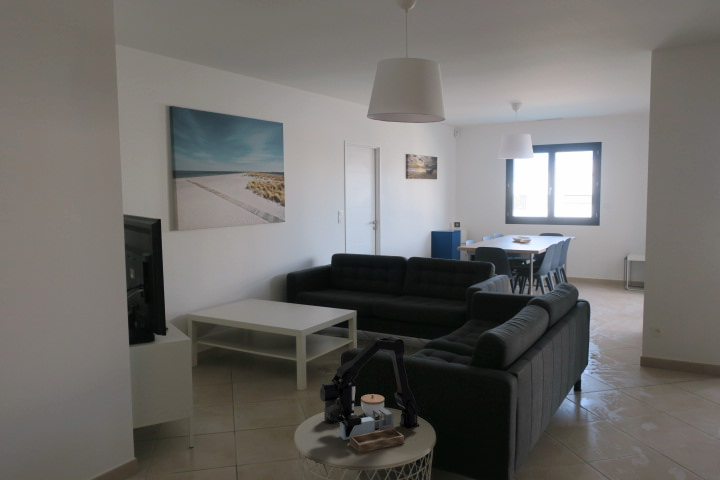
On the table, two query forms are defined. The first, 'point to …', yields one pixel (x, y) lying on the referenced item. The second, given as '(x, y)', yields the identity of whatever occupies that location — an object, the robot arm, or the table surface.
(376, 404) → the lidded jar
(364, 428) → the pale blue rectangular pillar
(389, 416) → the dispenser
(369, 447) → the tray
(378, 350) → the robot arm
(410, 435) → the table surface
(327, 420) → the supplement bottle
